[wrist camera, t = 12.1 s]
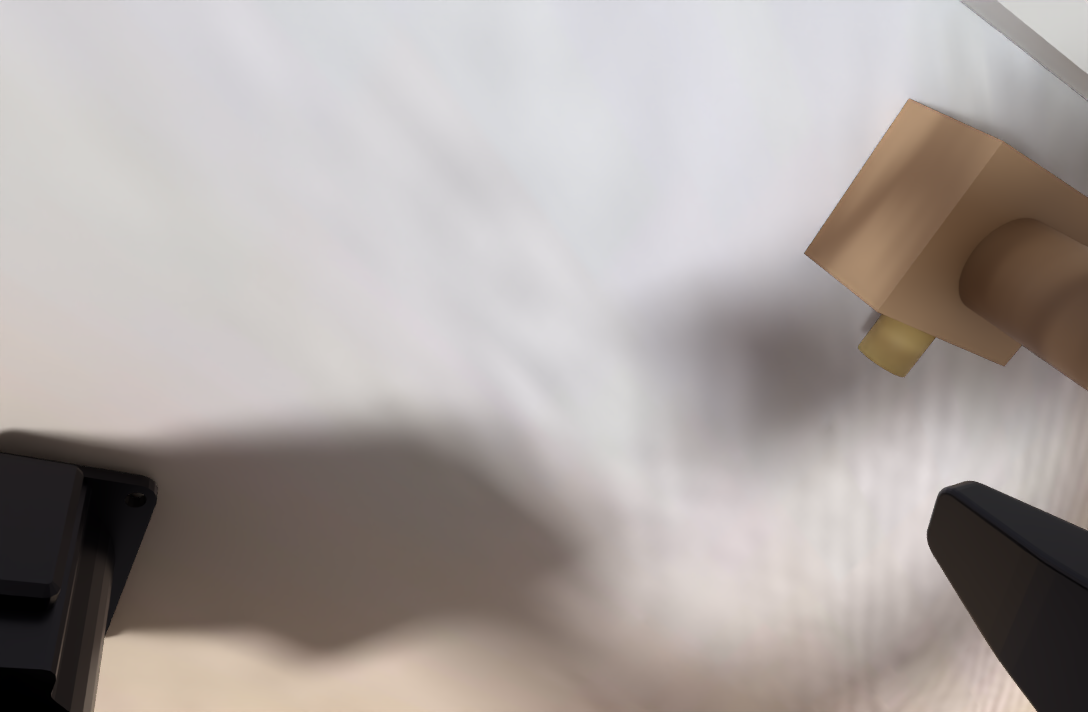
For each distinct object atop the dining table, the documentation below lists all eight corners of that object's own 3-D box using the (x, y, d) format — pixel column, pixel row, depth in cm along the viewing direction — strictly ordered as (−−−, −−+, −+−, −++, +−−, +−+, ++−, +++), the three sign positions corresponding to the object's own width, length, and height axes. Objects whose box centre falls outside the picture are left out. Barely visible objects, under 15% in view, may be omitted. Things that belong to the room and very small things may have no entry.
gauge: (896, 347, 28) (1279, 665, 18) (773, 298, 25) (1148, 645, 15) (1028, 175, 26) (1558, 431, 15) (909, 98, 23) (1467, 351, 13)
